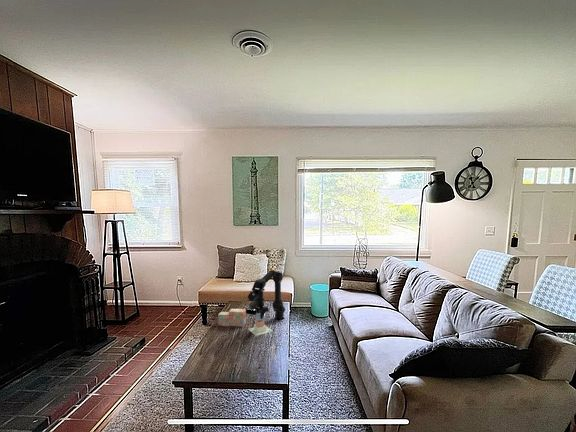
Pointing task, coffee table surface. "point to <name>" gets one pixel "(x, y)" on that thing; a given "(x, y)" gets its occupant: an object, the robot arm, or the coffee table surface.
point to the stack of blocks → (232, 318)
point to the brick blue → (259, 317)
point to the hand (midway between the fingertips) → (259, 317)
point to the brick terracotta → (260, 323)
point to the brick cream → (259, 328)
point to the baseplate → (259, 332)
